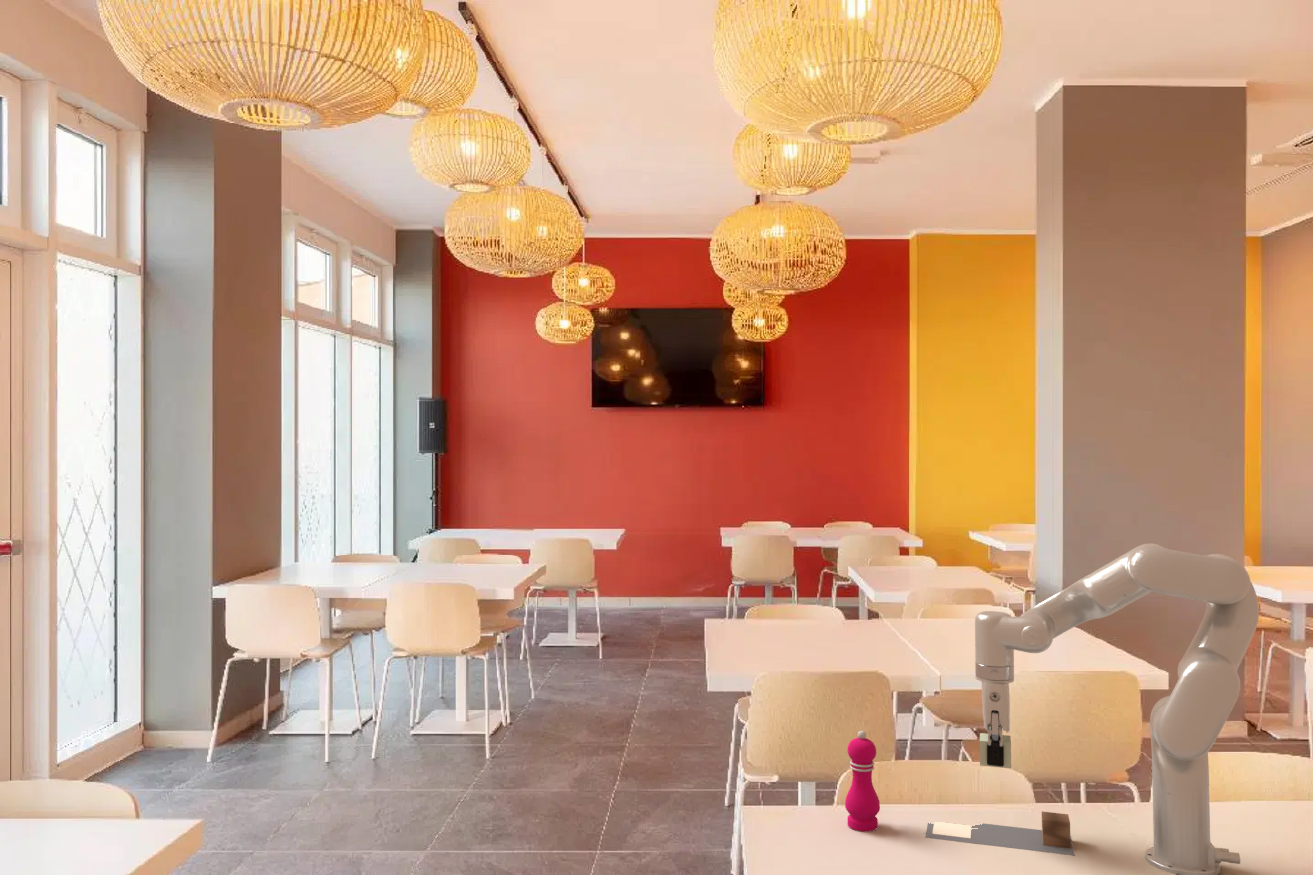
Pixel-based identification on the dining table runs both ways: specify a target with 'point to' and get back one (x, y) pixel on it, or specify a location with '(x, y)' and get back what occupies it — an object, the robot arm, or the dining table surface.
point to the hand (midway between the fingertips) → (995, 759)
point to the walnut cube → (1056, 829)
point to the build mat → (994, 836)
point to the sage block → (1005, 742)
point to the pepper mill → (862, 786)
